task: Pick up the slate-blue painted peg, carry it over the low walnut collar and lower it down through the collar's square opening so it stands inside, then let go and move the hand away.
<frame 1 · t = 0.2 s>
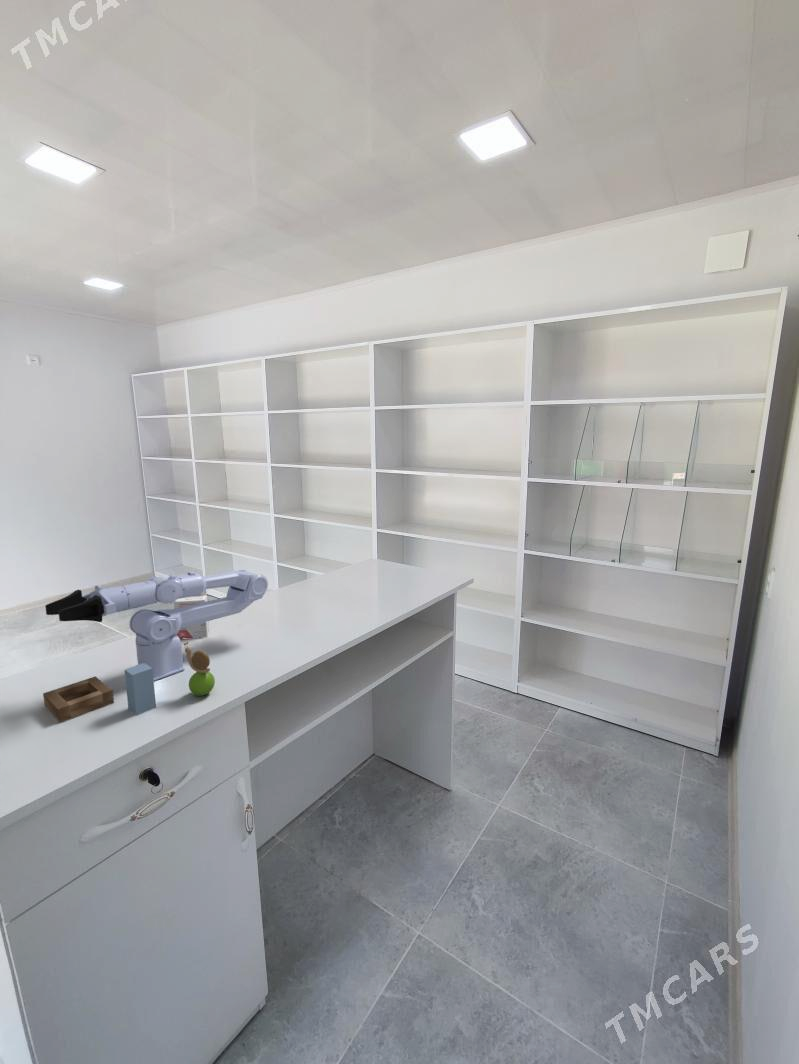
hand: (52, 613, 98), 21 cm above the table, tool horizontal, fingers open, 7 cm apart
ink cartridge box: (193, 636, 140), on the table
snail figurine: (200, 694, 107), on the table
slate-blue peg: (142, 708, 101), on the table
walnut collar: (79, 704, 103), on the table
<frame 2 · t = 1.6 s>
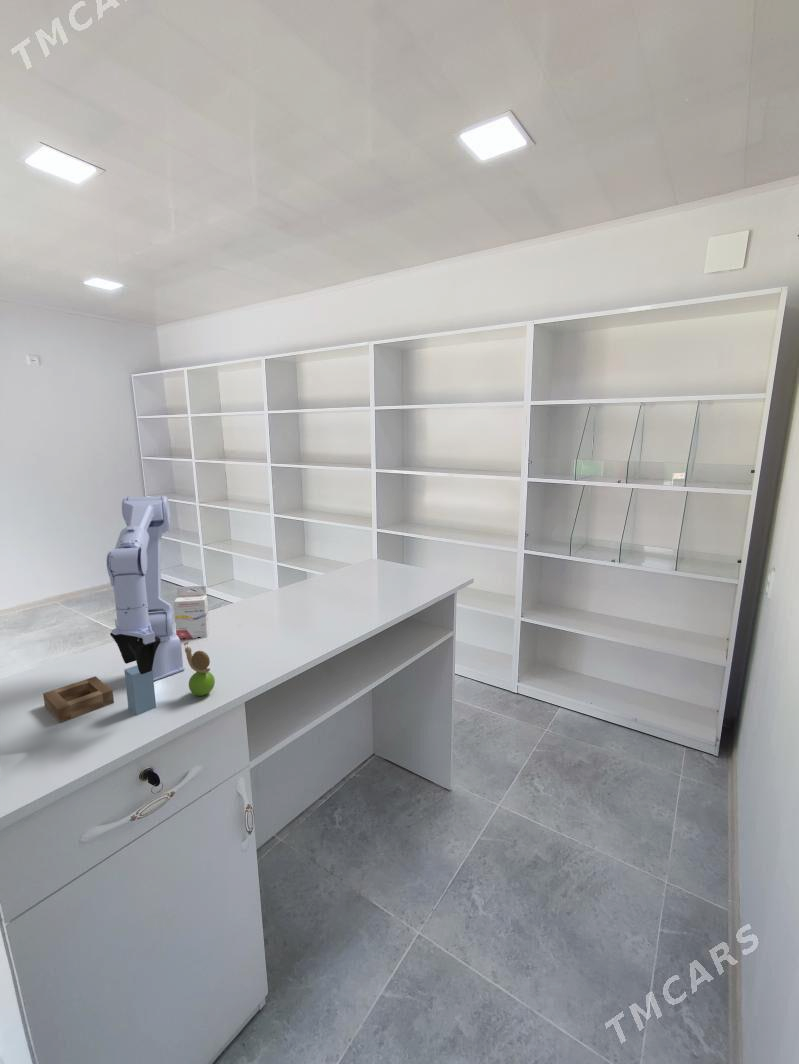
hand: (138, 666, 100), 9 cm above the table, tool pointing down, fingers open, 7 cm apart
nothing on the table moved.
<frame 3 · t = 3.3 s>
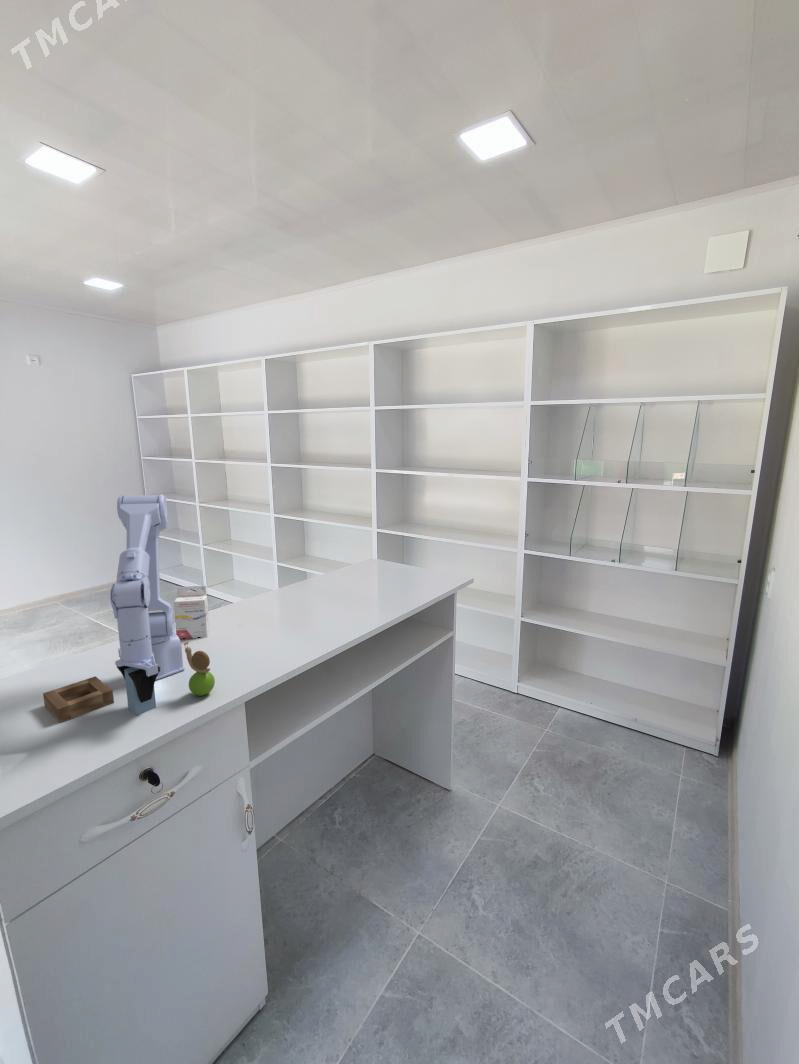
hand: (141, 696, 101), 3 cm above the table, tool pointing down, fingers closed on slate-blue peg, 4 cm apart
slate-blue peg: (142, 708, 101), on the table, touching gripper
everything else where it was.
when the fingers open (4 cm above the table, at t = 8.4 s): slate-blue peg drops 1 cm, resting in walnut collar.
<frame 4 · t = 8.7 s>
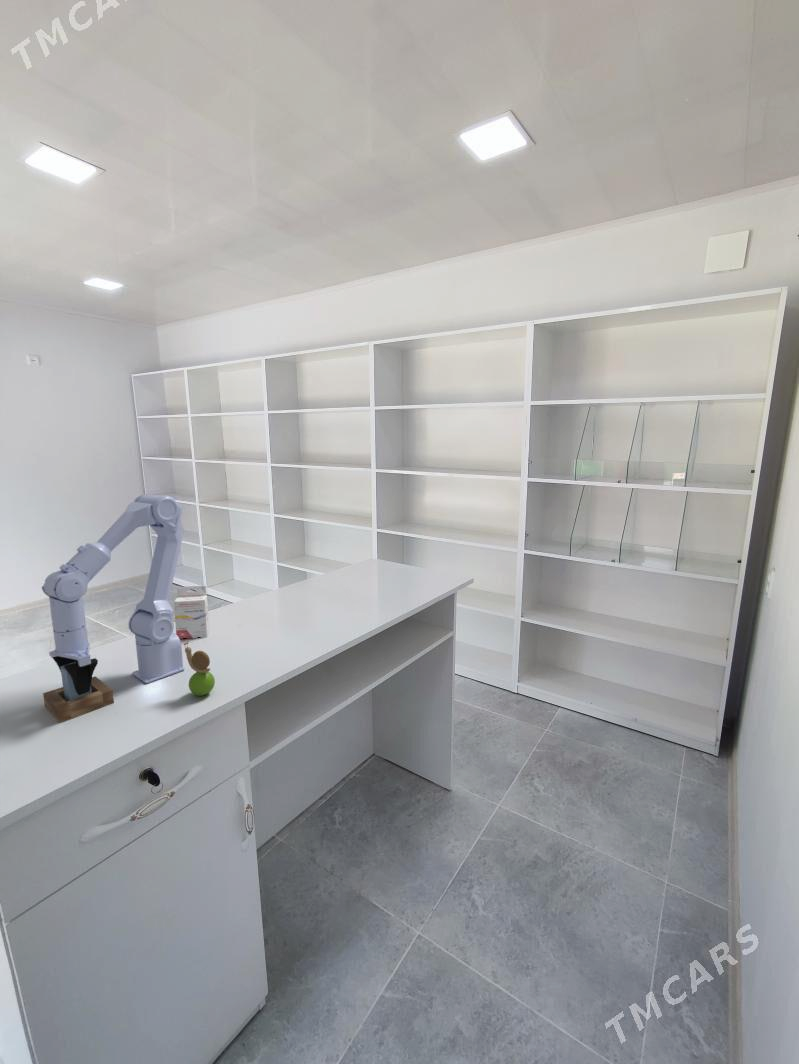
hand: (77, 687, 102), 4 cm above the table, tool pointing down, fingers open, 7 cm apart
slate-blue peg: (79, 704, 103), resting in walnut collar
everything else where it was.
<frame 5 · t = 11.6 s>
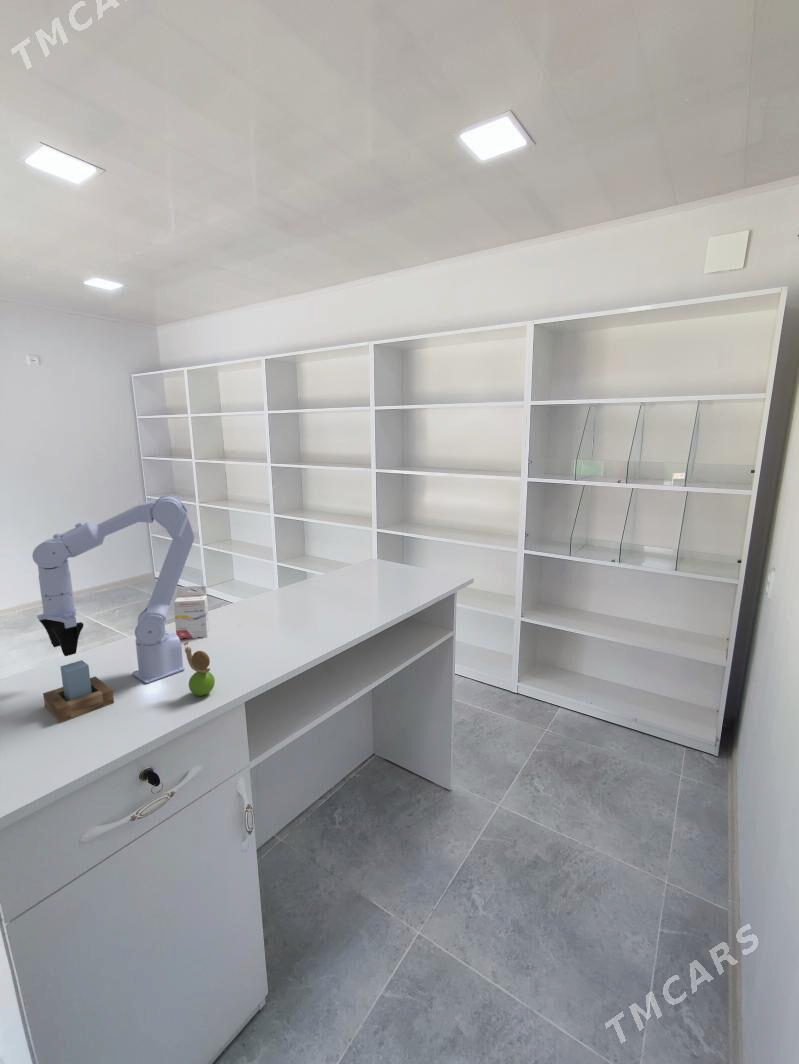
hand: (64, 650, 108), 9 cm above the table, tool pointing down, fingers open, 7 cm apart
nothing on the table moved.
at the end: slate-blue peg 0.0 cm off-centre on the walnut collar, point 0.0 cm above the walnut collar's base; slate-blue peg tilted 0°; the gripper is holding nothing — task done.
